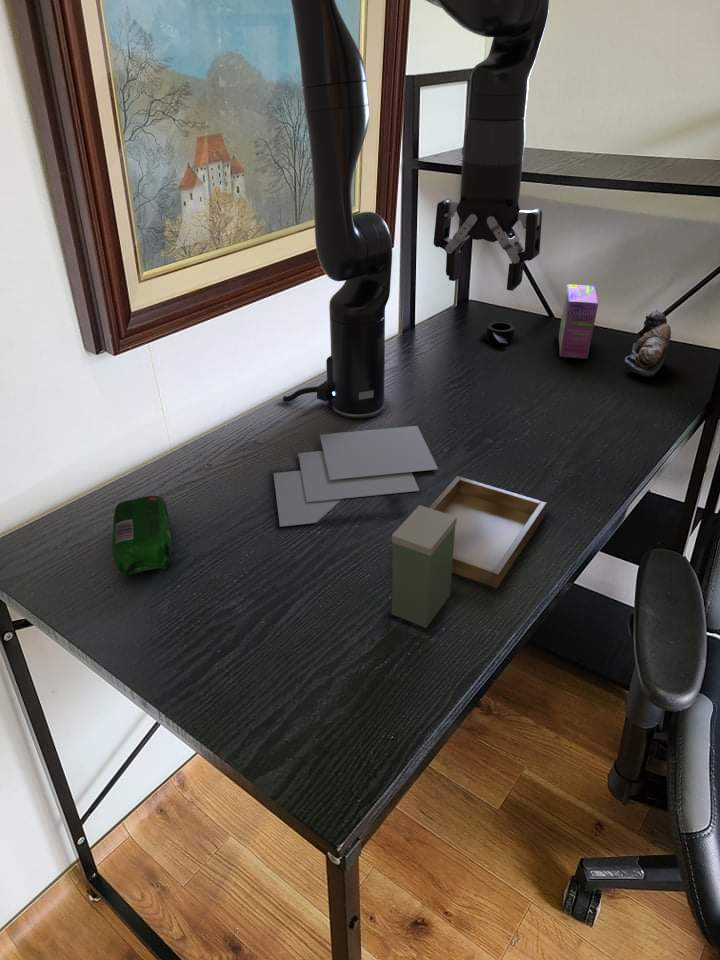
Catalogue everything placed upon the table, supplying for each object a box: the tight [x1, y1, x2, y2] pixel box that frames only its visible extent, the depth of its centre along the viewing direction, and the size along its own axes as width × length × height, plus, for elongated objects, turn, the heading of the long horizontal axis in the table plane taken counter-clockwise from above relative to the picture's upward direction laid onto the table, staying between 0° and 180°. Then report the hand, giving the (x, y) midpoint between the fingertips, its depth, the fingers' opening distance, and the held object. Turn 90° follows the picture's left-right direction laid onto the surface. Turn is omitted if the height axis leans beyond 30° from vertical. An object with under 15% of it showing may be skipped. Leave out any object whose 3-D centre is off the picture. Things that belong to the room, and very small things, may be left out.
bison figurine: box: [624, 309, 672, 378], centre depth 140 cm, size 12×7×10 cm, turn 154°
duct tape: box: [485, 321, 516, 346], centre depth 155 cm, size 8×10×3 cm
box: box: [558, 283, 599, 360], centre depth 148 cm, size 10×6×12 cm, turn 168°
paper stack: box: [273, 425, 439, 528], centre depth 112 cm, size 23×25×1 cm
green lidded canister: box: [391, 504, 457, 629], centre depth 84 cm, size 5×7×12 cm
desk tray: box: [428, 475, 548, 589], centre depth 98 cm, size 14×18×2 cm
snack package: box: [111, 495, 173, 576], centre depth 95 cm, size 7×16×5 cm, turn 15°
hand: (482, 284), depth 100 cm, fingers open, 8 cm apart
